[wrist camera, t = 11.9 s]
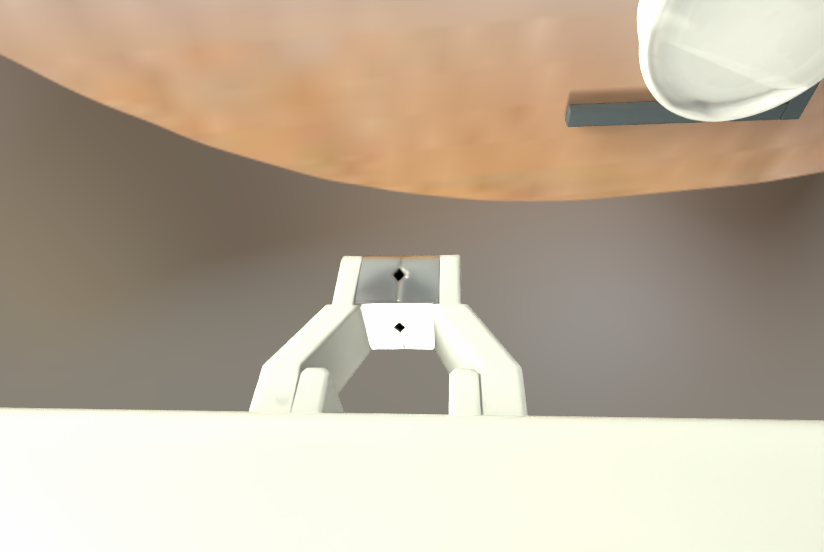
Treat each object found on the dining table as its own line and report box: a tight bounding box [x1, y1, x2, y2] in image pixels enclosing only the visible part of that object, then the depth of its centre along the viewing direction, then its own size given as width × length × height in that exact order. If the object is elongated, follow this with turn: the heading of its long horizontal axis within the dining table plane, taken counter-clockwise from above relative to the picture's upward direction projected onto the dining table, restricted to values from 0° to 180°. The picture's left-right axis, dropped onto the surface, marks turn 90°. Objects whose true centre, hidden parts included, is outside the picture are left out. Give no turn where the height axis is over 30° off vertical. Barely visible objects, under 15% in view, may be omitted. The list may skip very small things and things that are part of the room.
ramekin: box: [637, 0, 824, 122], centre depth 26 cm, size 11×11×5 cm
